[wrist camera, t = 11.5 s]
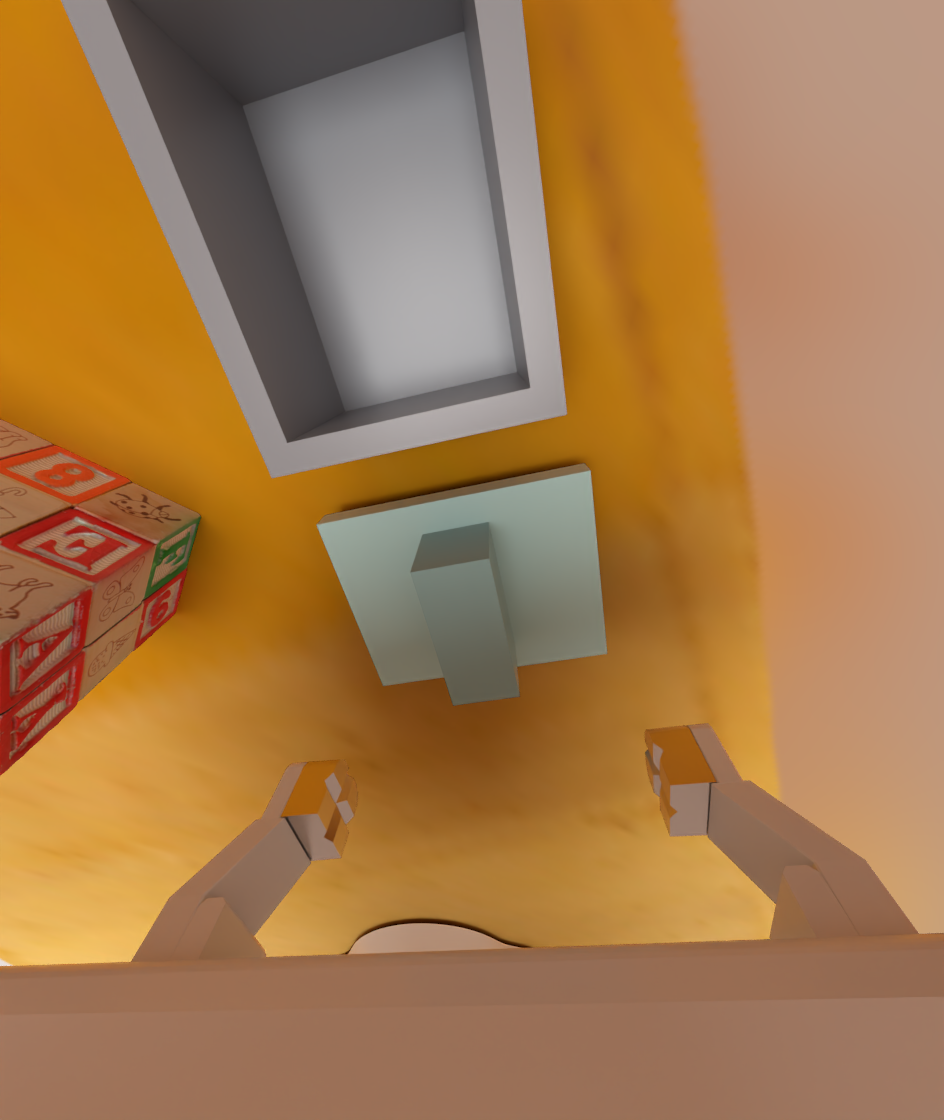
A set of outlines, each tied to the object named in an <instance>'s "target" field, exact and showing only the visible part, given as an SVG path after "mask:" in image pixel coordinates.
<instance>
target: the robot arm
mask: <svg viewBox="0 0 944 1120" xmlns="http://www.w3.org/2000/svg"><path fill="white" fill-rule="evenodd" d="M645 742H646V744H647V747H648V750H647V751H646V752H645V757H646V766H647V771H648V776H649V779H650V783H651V785H652V788H653V791H654V793H656V794H657V795H658V796H659V797H660V811H661V813H662V816H663V819H664V821H665V824H666V827H667V830H668V832H669V835H670V836H694V835H708V838H709V839H710V840H711V841H712V842H713V843H714V844H715V845H716V846H717V847H718V848H719V849H720V850H721V851H722V852H723V853H724V854H725V855H727V856H728V857H729V858H730V859H731V860H732V861H733V862H734V863H735V864H736V865H737V866H738V867H739V868H740V869H741V870H742V871H743V872H744V873H745V874H746V875H747V876H748V877H749V878H750V879H751V880H752V881H753V882H754V883H755V884H756V885H757V886H758V887H759V888H760V889H761V890H762V891H763V892H764V893H765V894H766V895H767V896H768V897H769V898H770V899H771V900H772V901H773V902H774V903H775V904H776V908H775V912H774V917H773V922H772V927H771V932H770V939H763V940H735V941H708V942H680V943H652V944H623V945H594V946H565V947H536V948H520V947H516V946H511V945H506V944H504V943H501V942H499V941H497V940H495V939H493V938H491V937H489V936H487V935H484V934H482V933H479V932H476V931H473V930H469V929H466V928H461V927H456V926H450V925H443V924H430V923H414V924H402V925H395V926H389V927H385V928H381V929H378V930H375V931H373V932H370V933H368V934H366V935H364V936H363V937H361V938H360V939H359V940H357V941H356V942H355V944H354V945H353V947H352V948H351V950H350V952H349V953H348V954H340V955H312V956H284V957H266V953H265V950H264V948H263V947H262V946H261V945H260V943H259V942H258V941H257V939H256V938H255V937H254V935H255V934H256V933H257V932H258V930H259V929H260V928H261V926H262V925H263V924H264V923H265V921H266V920H267V919H268V917H269V916H270V915H271V914H272V912H273V911H274V910H275V908H276V907H277V906H278V905H279V903H280V902H281V901H282V899H283V898H284V897H285V896H286V894H287V893H288V892H289V891H290V889H291V888H292V887H293V885H294V884H295V883H296V882H297V880H298V879H299V878H300V876H301V875H302V874H303V873H304V871H305V870H306V869H307V867H308V866H309V865H310V864H311V862H310V861H315V860H325V859H335V858H341V857H342V853H343V850H344V847H345V844H346V841H347V837H348V834H349V831H348V828H347V825H346V824H347V823H348V822H349V821H350V820H351V818H352V817H353V816H354V814H355V811H356V807H357V800H358V790H357V785H356V782H355V780H354V778H352V777H351V776H349V775H348V774H347V772H348V769H349V767H348V765H347V763H346V761H345V760H328V761H313V762H301V763H292V764H291V765H290V766H288V767H287V769H286V771H285V773H284V774H283V776H282V778H281V780H280V782H279V784H278V786H277V788H276V790H275V792H274V794H273V796H272V798H271V800H270V802H269V804H268V806H267V808H266V810H265V812H264V814H263V816H262V818H261V819H259V820H255V821H254V822H253V823H252V824H251V825H250V826H248V827H247V828H246V829H245V830H244V831H243V832H242V833H241V834H240V835H238V836H237V837H236V838H235V839H234V840H233V841H232V842H231V843H230V844H229V845H227V846H226V847H225V848H224V849H223V850H222V851H221V852H220V853H219V854H217V855H216V856H215V857H214V858H213V859H212V860H211V861H210V862H209V863H208V864H206V865H205V866H204V867H203V868H202V869H201V870H200V871H199V872H198V873H196V874H195V875H194V876H193V877H192V878H191V879H190V880H189V881H188V882H187V883H185V884H184V885H183V886H182V887H181V888H180V889H179V890H178V891H177V892H175V893H174V894H173V895H172V896H171V897H170V898H169V899H168V901H167V903H166V904H165V906H164V908H163V909H162V911H161V913H160V914H159V916H158V918H157V919H156V921H155V923H154V924H153V926H152V928H151V929H150V931H149V933H148V934H147V936H146V938H145V939H144V941H143V943H142V944H141V946H140V948H139V949H138V951H137V953H136V954H135V956H134V958H133V959H132V961H131V962H117V963H87V964H58V965H28V966H0V1120H944V933H931V934H930V933H929V934H919V933H918V932H917V930H916V929H915V928H914V927H913V925H912V924H911V922H910V921H909V919H908V918H907V917H906V915H905V914H904V913H903V911H902V910H901V908H900V907H899V906H898V904H897V903H896V902H895V900H894V899H893V897H892V896H891V895H890V894H889V892H888V891H887V889H886V888H885V886H884V885H883V884H882V882H881V881H880V880H879V878H878V877H877V876H876V874H875V873H874V871H873V870H872V869H871V867H870V866H869V864H868V863H867V862H866V860H864V859H863V858H862V857H860V856H859V855H857V854H856V853H854V852H853V851H851V850H850V849H848V848H847V847H846V846H844V845H842V844H841V843H840V842H838V841H837V840H835V839H834V838H832V837H831V836H829V835H828V834H826V833H825V832H824V831H822V830H821V829H819V828H818V827H816V826H815V825H814V824H812V823H811V822H809V821H808V820H806V819H805V818H803V817H802V816H800V815H799V814H798V813H796V812H795V811H793V810H792V809H790V808H789V807H787V806H786V805H784V804H783V803H782V802H780V801H779V800H777V799H776V798H774V797H773V796H771V795H770V794H768V793H767V792H766V791H764V790H763V789H761V788H760V787H758V786H757V785H755V784H754V783H752V782H751V781H743V780H742V778H741V777H740V775H739V773H738V771H737V770H736V768H735V766H734V765H733V763H732V761H731V760H730V758H729V756H728V754H727V753H726V751H725V749H724V748H723V746H722V744H721V742H720V741H719V739H718V737H717V736H716V734H715V732H714V730H713V729H712V727H711V726H710V725H709V724H696V725H687V726H685V725H683V726H674V727H665V728H656V729H647V730H646V731H645Z"/></svg>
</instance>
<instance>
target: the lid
mask: <svg viewBox="0 0 944 1120" xmlns="http://www.w3.org/2000/svg"><path fill="white" fill-rule="evenodd" d="M317 527H318V530H319V532H320V535H321V537H322V540H323V542H324V544H325V547H326V549H327V552H328V554H329V556H330V559H331V561H332V564H333V566H334V569H335V571H336V573H337V576H338V578H339V581H340V583H341V585H342V588H343V590H344V593H345V595H346V598H347V600H348V602H349V605H350V607H351V610H352V612H353V614H354V617H355V619H356V622H357V624H358V627H359V629H360V631H361V634H362V636H363V639H364V641H365V643H366V646H367V648H368V651H369V653H370V656H371V658H372V660H373V663H374V665H375V668H376V670H377V672H378V675H379V677H380V680H381V682H382V685H383V686H387V685H394V684H401V683H408V682H415V681H422V680H429V679H436V678H443V677H444V679H445V682H446V685H447V688H448V691H449V694H450V697H451V701H452V704H453V706H455V705H462V704H469V703H477V702H484V701H491V700H499V699H506V698H514V697H520V691H519V680H518V670H517V667H519V666H526V665H533V664H540V663H547V662H554V661H561V660H568V659H575V658H581V657H588V656H595V655H602V654H607V645H606V634H605V623H604V612H603V601H602V590H601V579H600V568H599V557H598V547H597V536H596V525H595V514H594V503H593V492H592V481H591V471H590V469H589V468H588V467H587V465H586V464H585V463H583V464H578V465H573V466H568V467H563V468H558V469H553V470H548V471H543V472H538V473H533V474H528V475H523V476H518V477H513V478H508V479H503V480H498V481H493V482H488V483H483V484H478V485H473V486H468V487H463V488H458V489H453V490H448V491H443V492H438V493H433V494H428V495H423V496H418V497H413V498H408V499H403V500H398V501H393V502H388V503H383V504H378V505H373V506H368V507H363V508H358V509H353V510H348V511H343V512H338V513H333V514H328V515H325V516H324V517H323V518H322V519H321V520H320V521H319V522H318V524H317Z"/></svg>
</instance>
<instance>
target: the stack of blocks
mask: <svg viewBox="0 0 944 1120" xmlns="http://www.w3.org/2000/svg"><path fill="white" fill-rule="evenodd" d="M200 519H201V515H200V514H198V513H196V512H194V511H192V510H190V509H188V508H186V507H183V506H181V505H179V504H177V503H175V502H173V501H171V500H168V499H166V498H164V497H162V496H160V495H158V494H156V493H154V492H151V491H149V490H147V489H145V488H143V487H141V486H139V485H136V484H134V483H132V482H131V481H130V480H129V479H127V478H125V477H123V476H121V475H119V474H117V473H114V472H112V471H110V470H108V469H106V468H104V467H102V466H100V465H97V464H95V463H93V462H91V461H89V460H87V459H84V458H82V457H80V456H78V455H76V454H74V453H72V452H69V451H67V450H65V449H63V448H61V447H58V446H55V445H53V444H51V443H50V442H48V441H46V440H44V439H42V438H40V437H38V436H36V435H34V434H32V433H30V432H27V431H25V430H23V429H20V428H18V427H16V426H14V425H12V424H10V423H8V422H6V421H3V420H1V419H0V775H2V774H3V773H4V772H5V771H7V770H8V769H9V768H10V767H11V766H12V765H13V764H14V763H15V762H16V761H17V760H19V759H20V758H21V757H22V756H23V755H24V754H25V753H26V752H27V751H28V750H29V749H30V748H31V747H33V746H34V745H35V744H36V743H37V742H38V741H39V740H40V739H41V738H42V737H43V736H44V735H45V734H46V733H47V732H48V731H50V730H51V729H52V728H54V727H55V726H56V725H57V724H58V723H59V722H60V721H61V720H62V719H63V718H64V717H65V716H66V715H67V714H68V713H69V712H70V711H71V710H72V709H73V708H74V707H75V706H76V705H77V703H78V701H80V700H81V699H82V698H84V697H85V696H86V695H87V694H88V693H89V692H90V691H91V690H92V689H93V688H94V687H95V686H96V685H97V684H98V683H99V682H100V681H101V680H103V679H104V678H105V677H106V676H107V675H108V674H109V673H110V672H111V671H112V670H113V669H114V668H115V667H117V666H118V665H119V664H120V663H121V662H122V661H123V660H124V659H125V658H126V657H127V656H128V655H129V654H130V653H131V652H132V651H134V650H135V649H136V648H138V647H139V646H140V645H141V644H142V643H144V642H145V641H146V640H147V639H148V638H149V637H150V636H152V634H153V633H154V632H155V631H156V630H158V629H159V628H160V627H161V626H162V625H163V624H164V623H166V622H167V621H168V620H169V619H170V618H171V617H172V616H173V615H174V614H175V613H176V609H177V606H178V602H179V599H180V595H181V591H182V588H183V584H184V580H185V576H186V573H187V565H188V561H189V557H190V554H191V550H192V547H193V543H194V540H195V536H196V532H197V529H198V525H199V522H200Z"/></svg>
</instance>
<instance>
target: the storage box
mask: <svg viewBox="0 0 944 1120" xmlns="http://www.w3.org/2000/svg"><path fill="white" fill-rule="evenodd" d="M61 1H62V3H63V6H64V8H65V10H66V13H67V15H68V17H69V19H70V22H71V24H72V26H73V28H74V31H75V33H76V35H77V37H78V40H79V42H80V44H81V47H82V49H83V51H84V53H85V56H86V58H87V60H88V62H89V65H90V67H91V69H92V71H93V74H94V76H95V78H96V81H97V83H98V85H99V87H100V90H101V92H102V94H103V96H104V99H105V101H106V103H107V105H108V108H109V110H110V112H111V115H112V117H113V119H114V121H115V124H116V126H117V128H118V130H119V133H120V135H121V137H122V139H123V142H124V144H125V146H126V149H127V151H128V153H129V155H130V158H131V160H132V162H133V164H134V167H135V169H136V171H137V173H138V176H139V178H140V180H141V183H142V185H143V187H144V189H145V192H146V194H147V196H148V198H149V201H150V203H151V205H152V207H153V210H154V212H155V214H156V217H157V219H158V221H159V223H160V226H161V228H162V230H163V232H164V235H165V237H166V239H167V241H168V244H169V246H170V248H171V251H172V253H173V255H174V257H175V260H176V262H177V264H178V266H179V269H180V271H181V273H182V275H183V278H184V280H185V282H186V285H187V287H188V289H189V291H190V294H191V296H192V298H193V300H194V303H195V305H196V307H197V309H198V312H199V314H200V316H201V319H202V321H203V323H204V325H205V328H206V330H207V332H208V334H209V337H210V339H211V341H212V343H213V346H214V348H215V350H216V353H217V355H218V357H219V359H220V362H221V364H222V366H223V368H224V371H225V373H226V375H227V377H228V380H229V382H230V384H231V387H232V389H233V391H234V393H235V396H236V398H237V400H238V402H239V405H240V407H241V409H242V411H243V414H244V416H245V418H246V421H247V423H248V425H249V427H250V430H251V432H252V434H253V436H254V439H255V441H256V443H257V445H258V448H259V450H260V452H261V455H262V457H263V459H264V461H265V464H266V466H267V468H268V470H269V473H270V475H271V477H272V478H275V477H280V476H284V475H289V474H294V473H298V472H303V471H308V470H312V469H317V468H321V467H326V466H331V465H335V464H340V463H345V462H349V461H354V460H359V459H363V458H368V457H373V456H377V455H382V454H386V453H391V452H396V451H400V450H405V449H410V448H414V447H419V446H424V445H428V444H433V443H438V442H442V441H447V440H452V439H456V438H461V437H465V436H470V435H475V434H479V433H484V432H489V431H493V430H498V429H503V428H507V427H512V426H517V425H521V424H526V423H530V422H535V421H540V420H544V419H549V418H554V417H558V416H563V415H567V409H566V400H565V390H564V381H563V372H562V363H561V354H560V345H559V336H558V327H557V318H556V309H555V300H554V291H553V282H552V272H551V263H550V254H549V245H548V236H547V227H546V218H545V209H544V200H543V191H542V182H541V173H540V164H539V155H538V145H537V136H536V127H535V118H534V109H533V100H532V91H531V82H530V73H529V64H528V55H527V46H526V37H525V27H524V18H523V9H522V0H61Z"/></svg>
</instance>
